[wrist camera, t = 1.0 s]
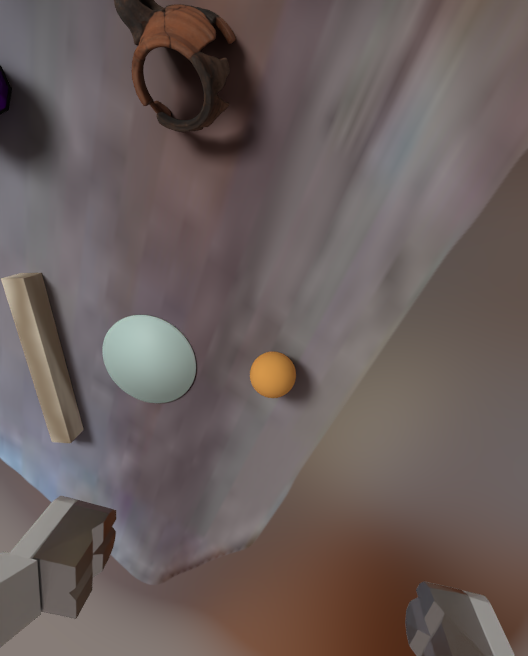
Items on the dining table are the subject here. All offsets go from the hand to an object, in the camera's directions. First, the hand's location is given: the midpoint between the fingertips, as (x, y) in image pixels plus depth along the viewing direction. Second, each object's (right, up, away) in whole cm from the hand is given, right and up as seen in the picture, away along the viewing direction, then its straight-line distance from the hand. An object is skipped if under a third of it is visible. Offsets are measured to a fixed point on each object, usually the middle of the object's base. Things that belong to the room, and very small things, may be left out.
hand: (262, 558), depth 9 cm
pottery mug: (-7, +32, +25) cm, 41 cm away
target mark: (-15, +2, +38) cm, 41 cm away
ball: (+1, 0, +33) cm, 33 cm away
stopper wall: (-29, +2, +40) cm, 49 cm away
